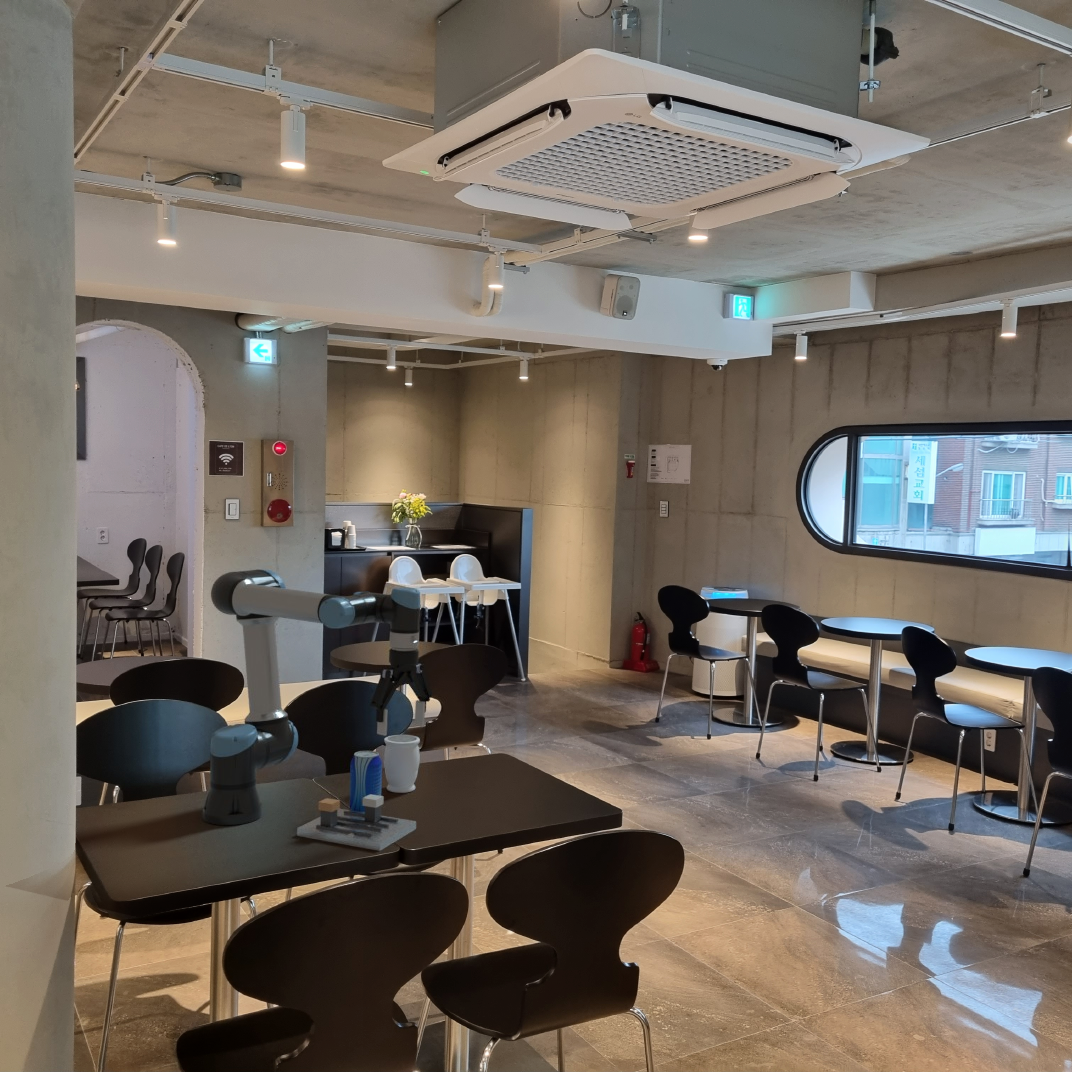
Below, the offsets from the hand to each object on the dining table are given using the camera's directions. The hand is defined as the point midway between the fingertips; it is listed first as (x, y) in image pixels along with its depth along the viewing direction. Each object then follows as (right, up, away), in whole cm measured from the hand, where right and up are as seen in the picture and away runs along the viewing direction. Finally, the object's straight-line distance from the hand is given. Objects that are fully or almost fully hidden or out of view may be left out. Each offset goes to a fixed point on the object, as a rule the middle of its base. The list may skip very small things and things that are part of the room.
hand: (401, 730), depth 259 cm
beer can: (-12, -25, +14) cm, 31 cm away
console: (-11, -26, -2) cm, 28 cm away
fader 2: (-7, -23, 0) cm, 24 cm away
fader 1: (-18, -23, -4) cm, 29 cm away
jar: (-5, -25, +36) cm, 44 cm away
